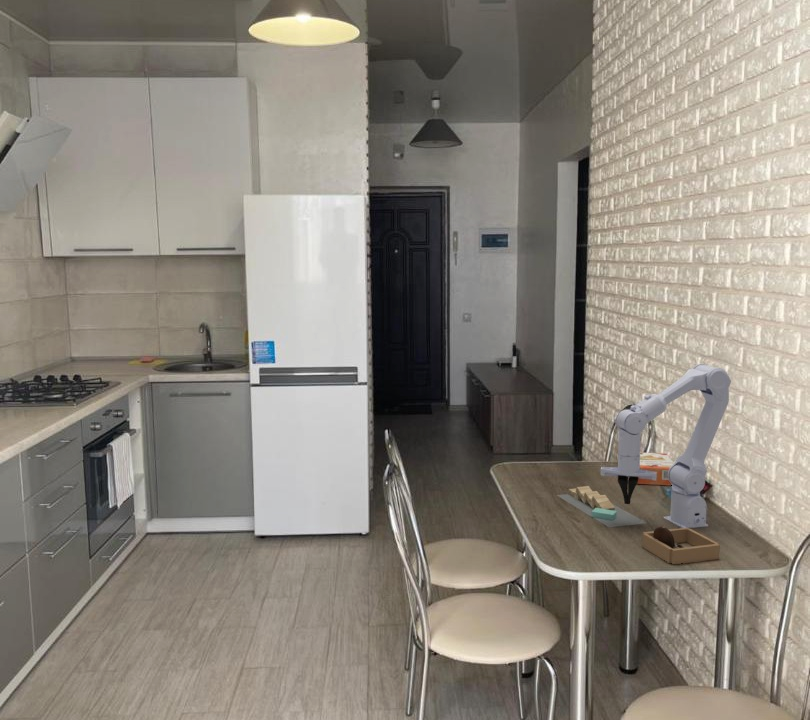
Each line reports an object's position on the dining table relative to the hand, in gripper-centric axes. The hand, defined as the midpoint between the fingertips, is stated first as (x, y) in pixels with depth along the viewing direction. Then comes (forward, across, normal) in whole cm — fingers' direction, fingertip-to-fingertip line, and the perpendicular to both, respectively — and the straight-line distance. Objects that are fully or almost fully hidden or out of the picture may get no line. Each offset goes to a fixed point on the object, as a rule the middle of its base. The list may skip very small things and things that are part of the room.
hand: (627, 503), depth 215 cm
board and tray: (+6, -1, -1) cm, 7 cm away
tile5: (+5, +14, -18) cm, 23 cm away
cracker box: (+3, -6, -43) cm, 43 cm away
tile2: (+5, +6, -8) cm, 11 cm away
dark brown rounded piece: (+7, -12, +16) cm, 21 cm away
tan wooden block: (+5, +8, -11) cm, 15 cm away
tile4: (+5, +11, -15) cm, 19 cm away
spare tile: (+5, +4, -4) cm, 7 cm away
